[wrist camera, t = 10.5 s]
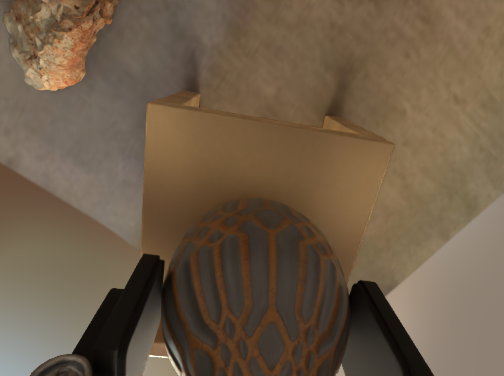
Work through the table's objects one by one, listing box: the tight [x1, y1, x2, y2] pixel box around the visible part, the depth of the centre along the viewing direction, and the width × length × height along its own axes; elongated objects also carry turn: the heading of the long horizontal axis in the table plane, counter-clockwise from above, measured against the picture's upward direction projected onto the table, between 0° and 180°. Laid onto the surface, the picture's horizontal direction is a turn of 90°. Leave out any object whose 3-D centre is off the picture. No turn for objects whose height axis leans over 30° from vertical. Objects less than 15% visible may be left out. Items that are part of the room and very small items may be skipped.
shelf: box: [140, 91, 395, 374], centre depth 18 cm, size 12×11×10 cm
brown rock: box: [3, 0, 119, 91], centre depth 17 cm, size 10×4×5 cm
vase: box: [161, 198, 350, 376], centre depth 11 cm, size 7×7×9 cm
